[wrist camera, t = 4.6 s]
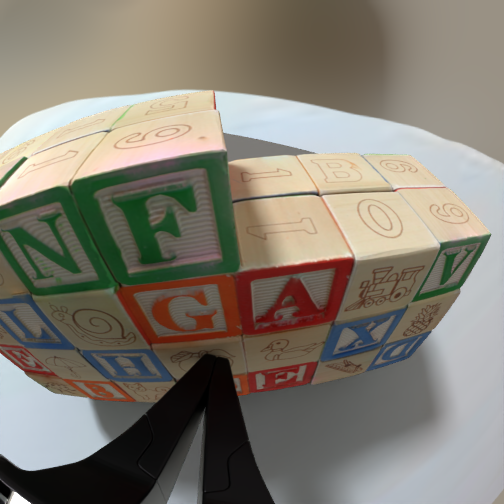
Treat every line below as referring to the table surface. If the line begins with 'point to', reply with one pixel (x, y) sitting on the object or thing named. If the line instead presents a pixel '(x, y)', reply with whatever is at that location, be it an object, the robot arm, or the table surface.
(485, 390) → the table surface
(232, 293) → the stack of blocks
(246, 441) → the robot arm
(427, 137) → the table surface
